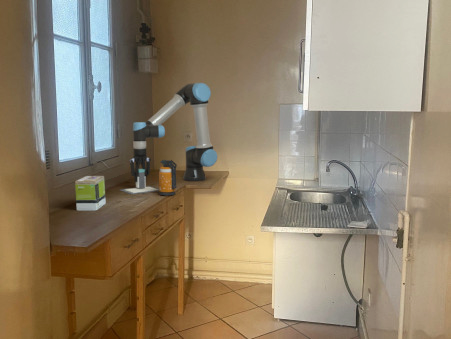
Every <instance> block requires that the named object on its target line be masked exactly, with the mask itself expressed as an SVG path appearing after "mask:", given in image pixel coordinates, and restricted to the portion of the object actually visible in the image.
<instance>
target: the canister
mask: <svg viewBox="0 0 451 339" xmlns="http://www.w3.org/2000/svg"><path fill="white" fill-rule="evenodd" d="M160 164H161V165H162V166H160V167H159V171H158V189H159V191H158V194H159V195H160V196H164V197H169V196H173V195H175V194H176V189H177V188H178V185H177V163H176V162H174V161H173V160H172V159H171V160H170V159H169V160H167V159H162V160H160Z"/></svg>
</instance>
